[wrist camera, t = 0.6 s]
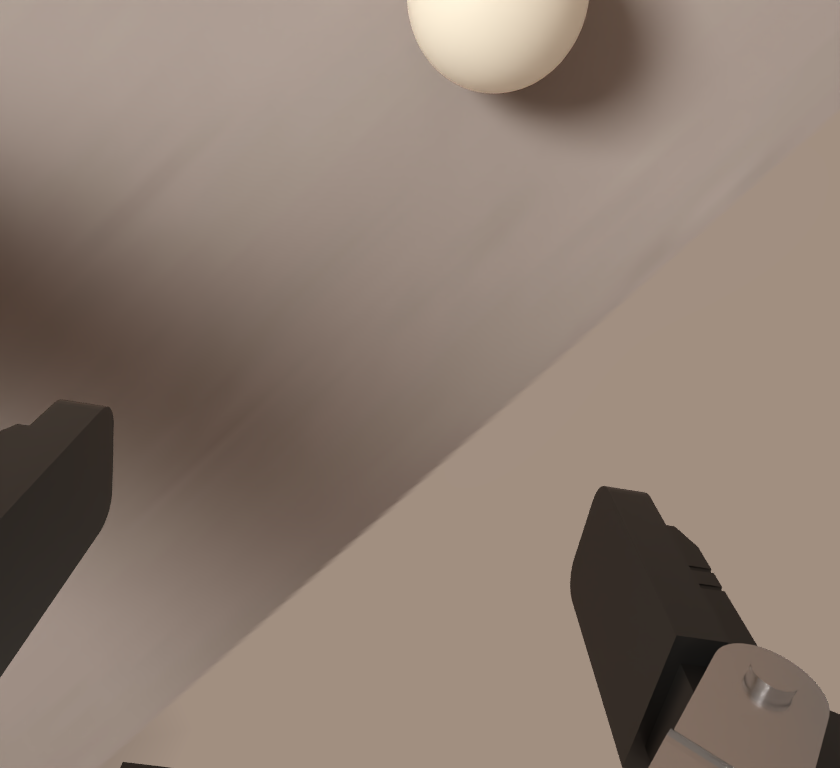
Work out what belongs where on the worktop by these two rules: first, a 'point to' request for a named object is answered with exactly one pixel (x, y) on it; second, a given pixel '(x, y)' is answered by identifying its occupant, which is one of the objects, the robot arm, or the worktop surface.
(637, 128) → the worktop surface
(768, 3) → the worktop surface
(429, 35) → the ivory ball
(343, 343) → the worktop surface
